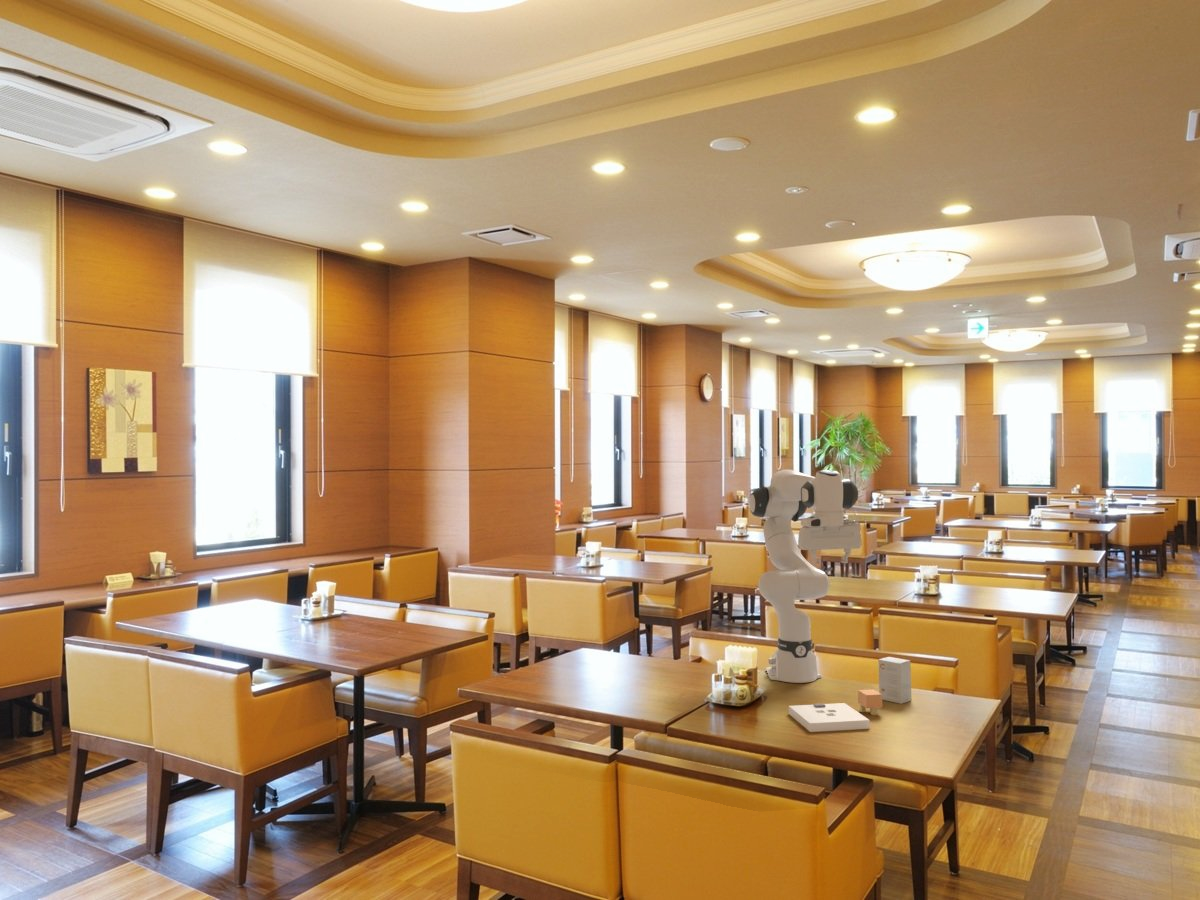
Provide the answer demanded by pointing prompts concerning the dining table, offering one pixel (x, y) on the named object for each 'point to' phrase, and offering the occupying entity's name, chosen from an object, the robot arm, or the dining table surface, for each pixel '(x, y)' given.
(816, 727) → the socket plate
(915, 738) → the dining table surface
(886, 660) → the small box
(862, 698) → the plug
